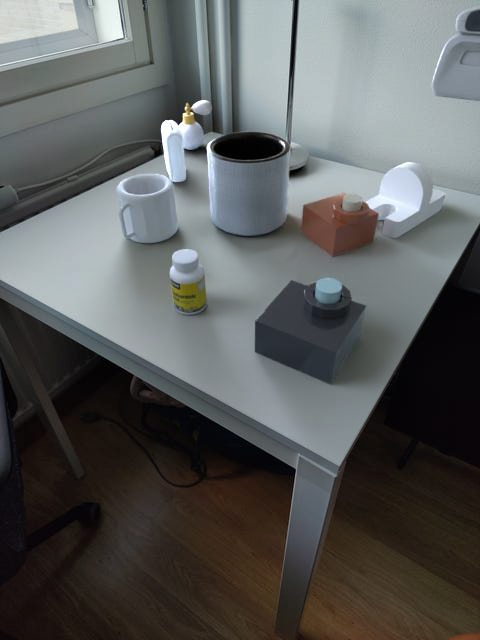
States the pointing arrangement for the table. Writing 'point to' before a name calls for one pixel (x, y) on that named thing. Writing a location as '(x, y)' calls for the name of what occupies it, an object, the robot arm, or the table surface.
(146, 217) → the mug
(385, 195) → the tape dispenser
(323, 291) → the light blue push button
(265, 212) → the planter
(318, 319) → the grey push button box
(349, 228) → the orange push button block
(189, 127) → the perfume bottle
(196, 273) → the supplement bottle
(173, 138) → the white rounded-top slab
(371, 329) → the table surface
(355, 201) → the round white push button
